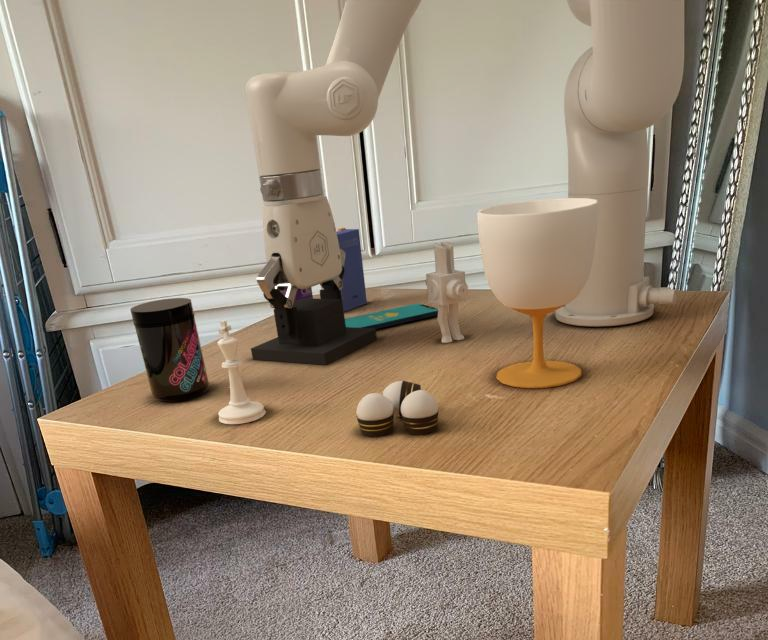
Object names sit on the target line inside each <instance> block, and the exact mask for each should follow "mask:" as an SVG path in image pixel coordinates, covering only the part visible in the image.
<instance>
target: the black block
mask: <svg viewBox="0 0 768 640" xmlns="http://www.w3.org/2000/svg"><path fill="white" fill-rule="evenodd" d="M292 307H297V311H298V317H299V324H300V330H301V338H300V339H298V340H293V339H281V338H280V337H279V333H278V327H277V321H276V315H275V309H274V308H273V315H274V320H275V321H274V322H275V328H276V332H277V337H278V340H279V344H293V345H310V346H319V345H321V344H324V343H326V342H328V341H330V340H332V339H334V338H336V337H339V336H341V335H343V334H345V333H346V325H345V319H346V318H345V312H344V311H343V310H344V309H343V301H342V299H321V298H314V297H313V298H303V299H300V300H298V301H295V302H294V303H293V306H292Z"/></svg>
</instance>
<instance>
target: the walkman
mask: <svg viewBox="0 0 768 640" xmlns="http://www.w3.org/2000/svg"><path fill="white" fill-rule="evenodd" d="M336 233H337V238H338V243H339V248H340V249H342V250H343V251H345V254H346V255H345V263H344V266H343V267H344V275H343V278H342V282H343V287H342V289H339V290H341V294H342V301H343V309H344V313H346V312H347V311H350V310H353V309H356V308H358V307H361V306H364V305H367V304H368V301H367V292H366V291H367V290H366V282H365V274H364V273H365V272H364V264H363V255H362V247H361V246H362V245H361V238H360V229H359V228H346V227H340V228H337V230H336ZM320 290H324V289H323V288H322V286H321V285H320Z"/></svg>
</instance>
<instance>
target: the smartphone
mask: <svg viewBox="0 0 768 640" xmlns="http://www.w3.org/2000/svg"><path fill="white" fill-rule="evenodd" d="M435 316H438V307H437V308H436V307H433V306H430V305H427V304H423V303H413V304H409V305H408V304H407V305H404V306H398V307H395V308H390V309H384V310H380V311H375V312H370V313H367V314H362V315H356V316H352V317H347V318H345V325H346V327H352V328H375V329H376V330H378V329H383V328H386V327H391V326H396V325H400V324H405V323H409V322H413V321H418V320H423V319H427V318H432V317H435Z"/></svg>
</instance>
